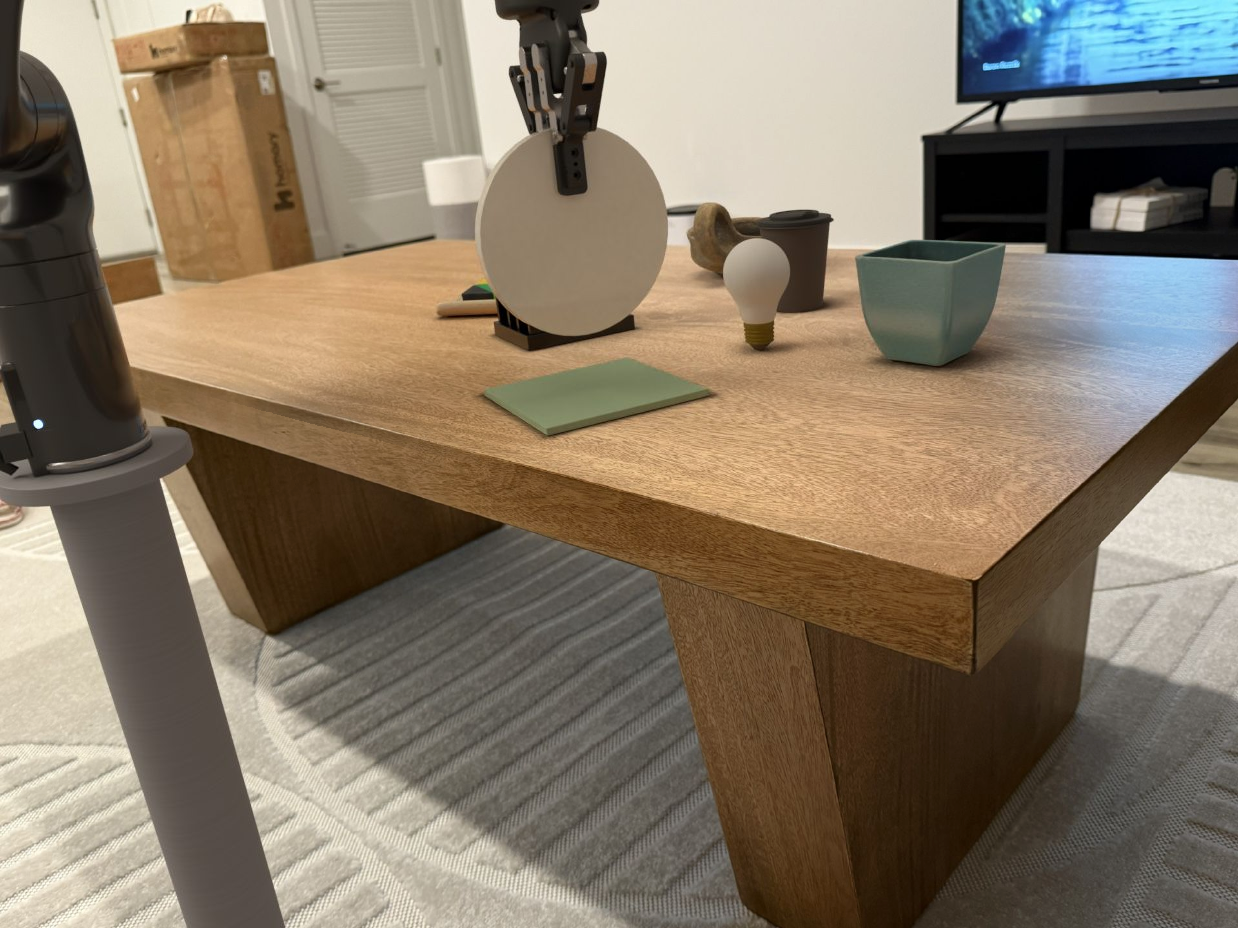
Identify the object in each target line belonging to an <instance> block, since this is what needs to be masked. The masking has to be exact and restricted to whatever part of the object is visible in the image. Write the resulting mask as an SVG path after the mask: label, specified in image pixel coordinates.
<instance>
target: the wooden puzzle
mask: <svg viewBox="0 0 1238 928" xmlns="http://www.w3.org/2000/svg"><path fill="white" fill-rule="evenodd" d="M435 313H436V315H437V316H440V317H448V316H449V317H450V316H473V315H475V316H477V315H498V313H497V306H496V299H495V295H494V293H493V292H492V290H491V288H490V287H489V285H488V283H487V281H486V279H485V277H484V276H483V278H482V279H480V280H479V281H478V282H476V283H475V284H473V285H472V286H470V287H469V288H467V289H466V290H465V291H463V292H462V293H461V294H460V295H459V296H457V297H455V298H454V299H452V300H451V301H441V302H439V303H437V304H436V306H435Z"/></svg>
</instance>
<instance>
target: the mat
mask: <svg viewBox="0 0 1238 928" xmlns="http://www.w3.org/2000/svg"><path fill="white" fill-rule="evenodd" d="M483 395H484V396H485V398H487V399H489V400H491V401H492V402H494V403H495V404H497V405H498V406H500V407H502V408H503V409H504V410H506V411H508V412H510V413H511V414H512V415H514V416H516V417H517V418H518V419H520V420H522V421H523V422H524V423H526V424H528V425H530V426H531V427H533V428H534V429H536V430H538V431H539V432H540V433H542V434H544V435H545V436H548V437H549V436H552V435H557V434H560V433H564V432H569V431H572V430H577V429H581V428H584V427H589V426H592V425H597V424H600V423H604V422H609V421H612V420H616V419H617V420H618V419H621V418H625V417H629V416H633V415H638V414H640V413H645V412H648V411H654V410H656V409H661V408H664V407H669V406H674V405H677V404H681V403H686V402H689V401H693V400H697V399H701V398H706V397H709V396H710V390H709V388H708V387H705V386H702V385H700V384H697V383H695V382H693V381H690V380H687V379H684V378H682V377H680V376H677V375H675V374H672V373H669V372H667V371H664V370H662V369H660V368H657V367H655V366H651V365H649V364H646V363H644V362H641V361H639V360H636V359H634V358H631V357H629V356H627V357H623V358H617V359H613V360H609V361H604V362H600V363H595V364H590V365H586V366H582V367H578V368H573V369H568V370H564V371H563V370H562V371H558V372H555V373H551V374H546V375H542V376H536V377H531V378H527V379H524V380H519V381H515V382H510V383H504V384H501V385H497V386H491V387H487V388H484V389H483Z"/></svg>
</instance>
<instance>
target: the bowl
mask: <svg viewBox="0 0 1238 928" xmlns="http://www.w3.org/2000/svg"><path fill="white" fill-rule="evenodd" d="M765 217H766V216H765ZM765 217H760V216H743V217H731V214H730V212H729V211H728V208H726V207H725V206H724V205H722V204H720V203H718V202H711V201H710V202H703V203H701V204H700V205H699V206H698V208H697V209H696V212H695V214H694V217H693V226H691V227H690V228H688V229H687V231H686V232H685V233H686V238H687V240H688V242H689V245H690V250H689V251H690V258H691V260H692V261H693V262H694V264H695V265H697V266H698V267H700V268H702V269H705V270H707V271H710V272H713V273H717V274H722V275H723V268H724V263H725V260H726V258H727V256H728V255H729V253H730V252H731V250H732V249H733V248H734V247H735V246H737V245H738V244H740V243H741V242H743V241H745V240H749V239H754V238H761V234H760V228H757V227H756V226H755V225H756V224H757V223H758V220H759V219H762V218H765Z"/></svg>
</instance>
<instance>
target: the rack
mask: <svg viewBox="0 0 1238 928" xmlns="http://www.w3.org/2000/svg"><path fill="white" fill-rule="evenodd" d="M495 299H496V306H497V313H498V314H497V319H498V320H494V321H493V328H494V329H493V330H494V335H495V336H497V337H498V338H501V339H503V340H505V341H508V342H510V343H512V344H514V345H516V346H518V347H520V348H523V349H525V350H527V351H529V352H530V351H536V350H540V349H546V348H550V347H555V346H559V345H564V344H568V343H569V344H570V343H574V342H578V341H582V340H587V339H593V338H596V337H602V336H606V335H612V334H616V333H617V334H618V333H620V332H627V331H631V330H635V329H636V325H635V316H634V314H632V313H630V314H629V315H628V316H626V317H625V318H624V319H623V320H621V321H620V322H618V323H616V324H614V325H613V326H611V327H609V328H607V329H604V330H602V331H599V332H596V333H592V334H588V335H580V336H563V335H557V334H551V333H548V332H545V331H542V330H539V329H537V328H535V327H532V326H530V325H528V324H526V323H524V322H523V321H521V320H520V319H518V318H517V317H516V316H514V315H513V314H512V313H511V312H510V311H508V310H507V309H506V308H505V307H504V306H503V305H502V303H501V302H500V301H499V300H498V299H497V297H496V296H495Z"/></svg>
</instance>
